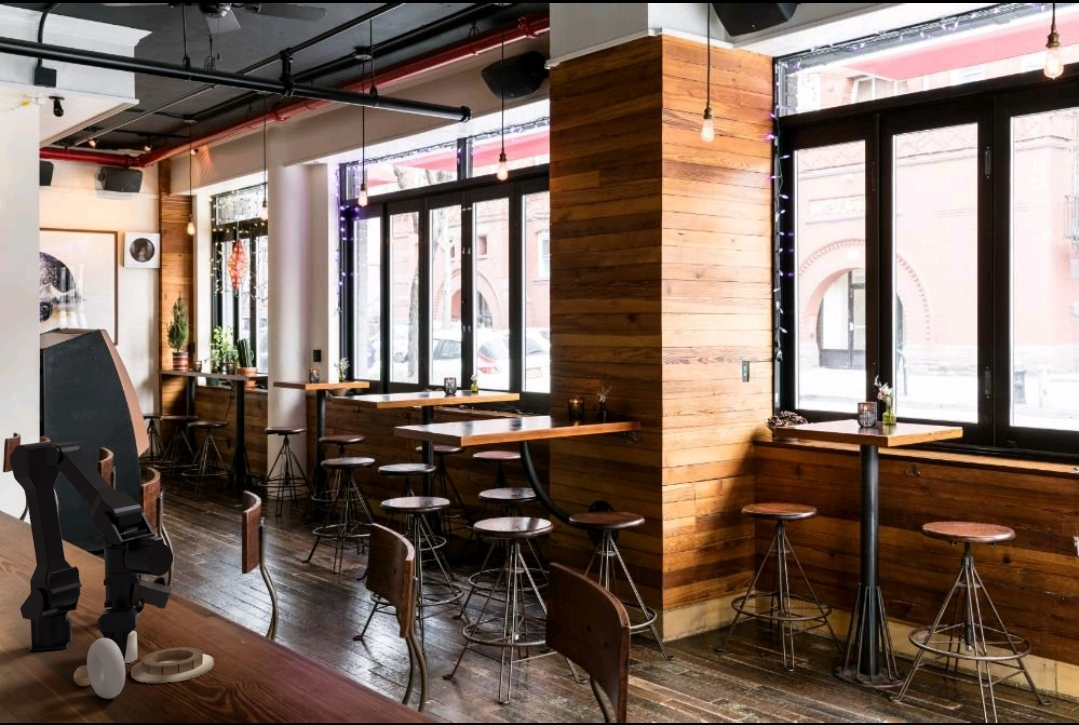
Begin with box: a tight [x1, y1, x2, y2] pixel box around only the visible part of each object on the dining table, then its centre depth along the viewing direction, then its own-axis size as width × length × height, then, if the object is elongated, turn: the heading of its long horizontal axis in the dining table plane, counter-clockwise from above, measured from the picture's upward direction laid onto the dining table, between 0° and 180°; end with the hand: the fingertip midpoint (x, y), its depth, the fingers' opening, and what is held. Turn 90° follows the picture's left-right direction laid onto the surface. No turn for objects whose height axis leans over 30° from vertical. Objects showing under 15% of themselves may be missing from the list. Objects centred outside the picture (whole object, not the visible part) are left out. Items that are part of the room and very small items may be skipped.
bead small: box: [73, 664, 91, 687], centre depth 177 cm, size 4×4×4 cm
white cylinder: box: [124, 630, 138, 664], centre depth 190 cm, size 4×4×5 cm
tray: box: [130, 646, 215, 684], centre depth 185 cm, size 14×14×2 cm
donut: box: [86, 637, 126, 700], centre depth 171 cm, size 10×4×10 cm, turn 46°
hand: (124, 653), depth 190 cm, fingers open, 9 cm apart
